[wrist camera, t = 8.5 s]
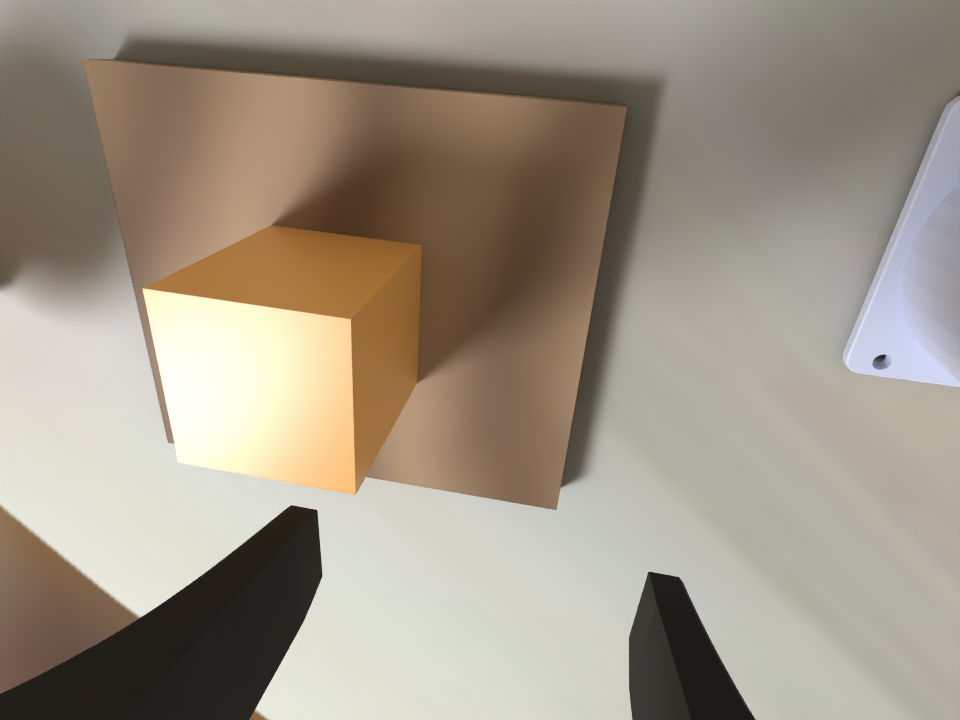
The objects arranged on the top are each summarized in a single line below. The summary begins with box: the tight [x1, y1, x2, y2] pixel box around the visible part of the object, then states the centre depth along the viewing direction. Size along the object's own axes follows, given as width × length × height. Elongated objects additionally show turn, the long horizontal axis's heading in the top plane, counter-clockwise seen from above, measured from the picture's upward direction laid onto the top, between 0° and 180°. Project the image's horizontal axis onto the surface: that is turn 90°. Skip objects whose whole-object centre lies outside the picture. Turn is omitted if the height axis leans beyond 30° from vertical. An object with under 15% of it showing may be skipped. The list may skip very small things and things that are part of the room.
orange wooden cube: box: [143, 225, 422, 495], centre depth 17 cm, size 5×5×6 cm
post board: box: [83, 59, 627, 510], centre depth 18 cm, size 16×14×6 cm
